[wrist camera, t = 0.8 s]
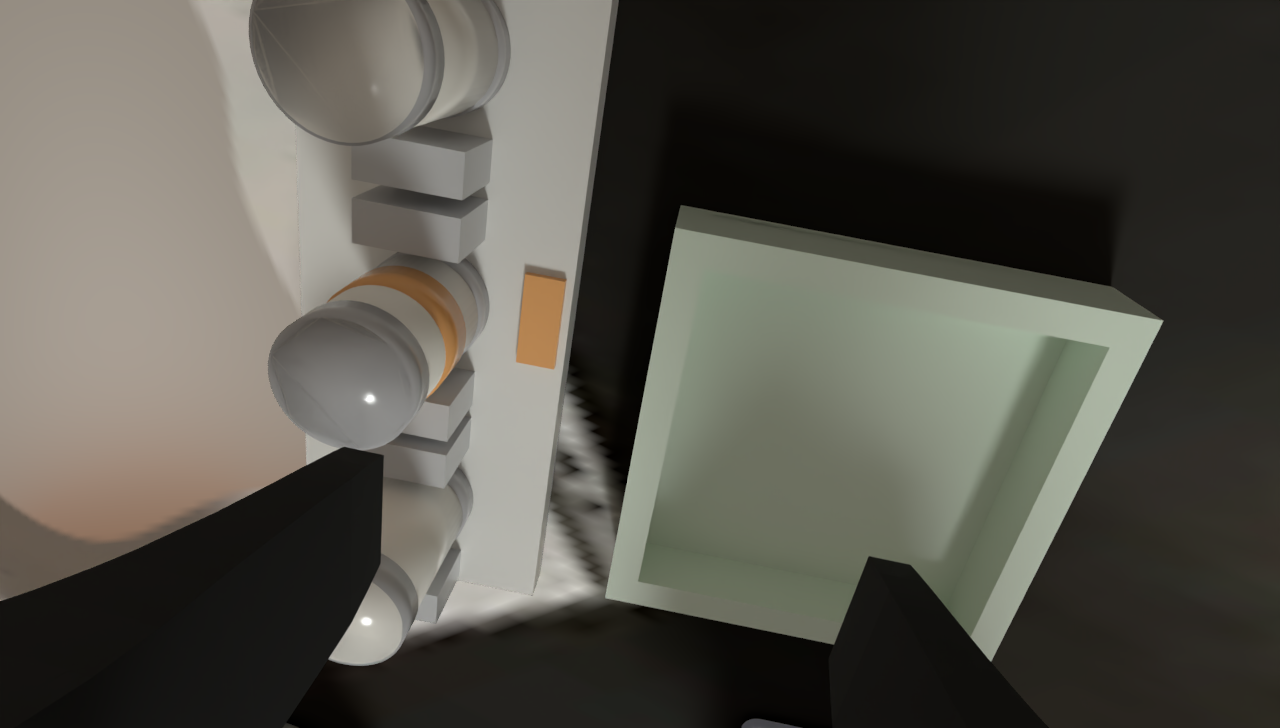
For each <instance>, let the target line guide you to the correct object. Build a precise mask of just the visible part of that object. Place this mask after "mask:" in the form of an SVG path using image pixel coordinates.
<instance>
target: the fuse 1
mask: <svg viewBox="0 0 1280 728" xmlns="http://www.w3.org/2000/svg"><path fill="white" fill-rule="evenodd" d="M249 40H250V48H251V53H252V57H253V61H254V64H255V67H256V70H257V73H258V75H259V77H260V79H261V81H262V84H263V86H264V87H265V89H266V91H267V92H268V94H269V96H270V97H271V99H272V100H273V101H274V103H275V104H276V105H277V107H278V108H279V109H280V110H281V111H282V112H283V113H284V114H285V115H286V116H287V117H288V118H289V119H290V120H291V121H292V122H293V123H295V124H296V125H297V126H299V127H300V128H301V129H303V130H304V131H306V132H307V133H309V134H311V135H313V136H315V137H317V138H319V139H322V140H324V141H327V142H330V143H334V144H338V145H345V146H363V145H369V144H373V143H376V142H379V141H382V140H385V139H388V138H392V137H395V136H398V135H401V134H403V133H405V132H407V131H409V130H410V129H412V128H413V127H417V126H420V125H423V124H426V123H429V122H433V121H436V120H439V119H444V118H452V117H457V116H460V115H463V114H466V113H469V112H472V111H475V110H477V109H479V108H481V107H483V106H484V105H486V104H487V103H488V102H489V101H490V100H491V99H493V98H494V97H495V95H496V94H497V93H498V91H499V90H500V88H501V87H502V85H503V83H504V81H505V79H506V76H507V73H508V69H509V65H510V58H511V44H510V36H509V32H508V28H507V25H506V22H505V19H504V17H503V15H502V13H501V11H500V9H499V7H498V6H497V4H496V3H495V1H494V0H253V2H252V6H251V9H250V17H249Z"/></svg>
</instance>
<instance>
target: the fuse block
mask: <svg viewBox="0 0 1280 728" xmlns="http://www.w3.org/2000/svg"><path fill="white" fill-rule="evenodd" d="M494 1H495V3H496V4H497V6H498V7H499V9H500V11H501V13H502V15H503V17H504V19H505V22H506V25H507V28H508V32H509V36H510V44H511V58H510V65H509V69H508V73H507V76H506V79H505V81H504V83H503V85H502V87H501V88H500V90H499V91H498V93H497V94H496V95H495V97H494V98H493V99H491V100H490V101H489V102H488V103H487V104H486V105H484V106H483V107H481V108H479V109H477V110H475V111H472V112H469V113H466V114H463V115H460V116H457V117H452V118H444V119H439V120H436V121H433V122H429V123H426V124H423V125H420V126H417V127H413V128H412V129H410V130H409V131H407V132H405V133H403V134H401V135H398V136H395V137H392V138H388V139H385V140H382V141H379V142H376V143H373V144H369V145H363V146H345V145H338V144H334V143H330V142H327V141H324V140H322V139H319V138H317V137H315V136H313V135H311V134H309V133H307V132H306V131H304V130H303V129H301V128H300V127H299V126H297V125H296V124H295V135H296V165H297V195H298V225H299V255H300V285H301V314H302V316H304V315H305V314H307V313H308V312H309V311H311V310H313V309H314V308H316V307H318V306H320V305H322V304H325V303H327V301H328V300H329V299H330V298H331V297H332V296H333V295H334V294H335V293H337V292H338V291H340V290H341V289H343V288H344V287H345V286H347V285H348V284H350V283H351V282H353V281H354V280H356V279H357V278H359V277H360V276H362V275H363V274H365V273H366V272H368V271H370V270H373V269H375V268H376V267H377V266H378V265H380V264H381V263H382V262H383V261H385V260H386V259H388V258H389V257H391V256H392V255H394V254H395V253H397V252H401V253H406V254H411V255H416V256H422V257H427V258H432V259H437V260H442V261H447V262H453V263H460V262H461V261H462V260H463V259H464V258H466V259H467V260H468V261H469V262H470V263H471V264H472V265H473V266H474V267H475V268H476V270H477V271H478V272H479V274H480V275H481V277H482V279H483V281H484V283H485V285H486V288H487V291H488V295H489V302H490V310H489V317H488V320H487V323H486V326H485V328H484V330H483V331H482V333H481V334H480V335H479V337H478V338H477V339H476V340H475V342H474V343H473V344H472V345H471V347H470V348H469V349H468V350H467V351H466V352H465V353H464V354H462V356H461V358H460V360H459V362H458V363H457V365H456V366H455V367H454V369H453V370H452V371H451V372H450V374H449V375H448V376H447V377H446V379H445V380H444V381H443V382H442V384H441V385H440V386H439V387H438V388H437V390H436V391H435V392H434V393H433V394H431V395H430V396H429V397H428V398H426V399H425V402H424V404H423V406H422V407H421V409H420V410H419V411H418V413H417V414H416V415H415V416H414V418H413V419H412V420H411V421H410V423H409V424H408V425H407V426H406V428H405V429H404V430H403V431H402V432H401V433H400V434H399V436H397V437H396V438H395V439H394V440H392V441H391V442H389V443H387V444H385V445H383V446H380V447H378V448H374V449H369V450H362V451H367V452H372V453H377V454H381V455H384V468H383V477H388V478H393V479H398V480H403V481H408V482H413V483H418V484H423V485H428V486H433V487H438V488H443V489H444V488H445V487H446V485H447V483H448V482H449V480H450V479H451V477H452V475H453V474H454V472H455V470H456V469H457V467H459V468H460V469H461V470H462V472H463V473H464V474H465V476H466V477H467V479H468V480H469V483H470V485H471V488H472V491H473V508H472V511H471V514H470V515H469V517H468V519H467V521H466V523H465V525H464V527H463V529H462V531H461V532H460V534H459V536H458V537H457V538H456V539H455V540H454V542H453V544H452V546H451V548H450V549H449V551H448V553H447V555H446V557H445V559H444V561H443V563H442V564H441V566H440V568H439V570H438V572H437V574H436V576H435V578H434V580H433V581H432V583H431V585H430V587H429V589H428V591H427V593H426V595H425V596H424V598H423V600H422V602H421V604H420V606H419V608H418V612H417V615H416V618H415V620H420V621H425V622H430V623H434V624H436V622H437V620H438V618H439V616H440V614H441V612H442V610H443V608H444V606H445V604H446V602H447V600H448V598H449V596H450V594H451V592H452V590H453V587H454V585H455V583H456V581H462V582H467V583H472V584H477V585H482V586H487V587H492V588H496V589H501V590H506V591H511V592H516V593H521V594H526V595H531V596H533V593H534V590H535V587H536V584H537V581H538V578H539V575H540V570H541V563H542V555H543V548H544V541H545V534H546V526H547V519H548V512H549V504H550V497H551V490H552V483H553V475H554V468H555V461H556V454H557V446H558V439H559V432H560V424H561V417H562V410H563V403H564V395H565V388H566V381H567V373H568V366H569V359H570V352H571V344H572V337H573V330H574V323H575V315H576V308H577V301H578V293H579V286H580V279H581V272H582V264H583V257H584V250H585V242H586V235H587V228H588V221H589V213H590V206H591V199H592V192H593V184H594V177H595V170H596V162H597V155H598V148H599V141H600V133H601V126H602V119H603V111H604V104H605V97H606V90H607V82H608V75H609V68H610V61H611V53H612V46H613V39H614V31H615V24H616V17H617V10H618V2H619V0H494ZM305 434H306V433H305ZM338 449H340V448H336V447H332V446H330V445H327V444H324V443H322V442H320V441H318V440H316V439H314V438H312V437H311V436H309V435H308V434H306V464H307V465H308V464H310V463H312V462H314V461H316V460H318V459H320V458H321V457H323V456H325V455H327V454H329V453H331V452H333V451H336V450H338Z"/></svg>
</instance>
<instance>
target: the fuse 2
mask: <svg viewBox="0 0 1280 728" xmlns="http://www.w3.org/2000/svg"><path fill="white" fill-rule="evenodd" d="M472 508H473V491H472V488H471V485H470V483H469V480H468V479H467V477H466V476H465V474H464V473H463V472H462V470H461V469H460V468H459V467H457V469H456V470H455V472H454V474H453V475H452V477H451V479H450V480H449V482H448V483H447V485H446V487H445V488H444V489H443V488H438V487H433V486H428V485H423V484H418V483H413V482H408V481H403V480H398V479H393V478H388V477H383V502H382V535H381V564H380V566H379V568H378V570H377V572H376V574H375V577H374V579H373V581H372V583H371V585H370V587H369V589H368V591H367V593H366V595H365V597H364V599H363V601H362V603H361V605H360V607H359V609H358V611H357V613H356V615H355V617H354V619H353V621H352V623H351V625H350V626H349V628H348V629H347V631H346V633H345V634H344V636H343V637H342V639H341V640H340V642H339V643H338V645H337V647H336V648H335V650H334V651H333V653H332V654H331V656H330V657H329V660H332V661H334V662H338V663H342V664H347V665H356V666H363V665H372V664H376V663H380V662H382V661H384V660H386V659H388V658H390V657H391V656H392V655H394V654H395V653H396V652H397V650H398V649H399V648H400V646H401V644H402V643H403V641H404V639H405V637H406V635H407V633H408V631H409V629H410V627H411V625H412V624H413V622H414V620H415V618H416V615H417V612H418V608H419V606H420V604H421V602H422V600H423V598H424V596H425V595H426V593H427V591H428V589H429V587H430V585H431V583H432V581H433V580H434V578H435V576H436V574H437V572H438V570H439V568H440V566H441V564H442V563H443V561H444V559H445V557H446V555H447V553H448V551H449V549H450V548H451V546H452V544H453V542H454V540H455V539H456V538H457V537H458V536H459V534H460V532H461V531H462V529H463V527H464V525H465V523H466V521H467V519H468V517H469V515H470V514H471V511H472Z"/></svg>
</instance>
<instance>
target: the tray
mask: <svg viewBox="0 0 1280 728" xmlns="http://www.w3.org/2000/svg"><path fill="white" fill-rule="evenodd" d="M1162 323H1163V320H1161V319H1160V318H1158V317H1157V316H1155V315H1154V314H1152V313H1151V312H1149V311H1148V310H1146V309H1145V308H1143V307H1142V306H1140V305H1139V304H1137V303H1136V302H1134V301H1133V300H1131V299H1130V298H1128V297H1127V296H1125V295H1124V294H1122V293H1121V292H1119V291H1118V290H1116V289H1115V288H1113V287H1111V286H1105V285H1100V284H1095V283H1089V282H1084V281H1079V280H1074V279H1068V278H1063V277H1058V276H1053V275H1047V274H1042V273H1037V272H1031V271H1026V270H1021V269H1016V268H1010V267H1005V266H1000V265H995V264H989V263H984V262H979V261H973V260H968V259H963V258H958V257H952V256H947V255H942V254H937V253H931V252H926V251H921V250H915V249H910V248H905V247H900V246H894V245H889V244H884V243H879V242H873V241H868V240H863V239H857V238H852V237H847V236H842V235H836V234H831V233H826V232H821V231H815V230H810V229H805V228H799V227H794V226H789V225H784V224H778V223H773V222H768V221H763V220H757V219H752V218H747V217H741V216H736V215H731V214H726V213H720V212H715V211H710V210H705V209H699V208H694V207H689V206H683V205H681V206H680V210H679V214H678V218H677V222H676V226H675V231H674V236H673V242H672V247H671V252H670V257H669V263H668V268H667V273H666V279H665V284H664V289H663V294H662V300H661V305H660V310H659V316H658V321H657V326H656V331H655V337H654V342H653V347H652V353H651V358H650V363H649V368H648V374H647V379H646V384H645V390H644V395H643V400H642V405H641V411H640V416H639V421H638V427H637V432H636V437H635V442H634V448H633V453H632V458H631V464H630V469H629V474H628V479H627V485H626V490H625V495H624V501H623V506H622V511H621V516H620V522H619V527H618V532H617V538H616V543H615V548H614V553H613V559H612V564H611V569H610V575H609V580H608V585H607V590H606V596H605V598H608V599H613V600H618V601H623V602H628V603H633V604H638V605H643V606H647V607H652V608H657V609H662V610H667V611H672V612H677V613H682V614H687V615H692V616H697V617H701V618H706V619H711V620H716V621H721V622H726V623H731V624H736V625H741V626H746V627H750V628H755V629H760V630H765V631H770V632H775V633H780V634H785V635H790V636H795V637H799V638H804V639H809V640H814V641H819V642H824V643H829V644H834V643H835V641H836V638H837V636H838V633H839V631H840V628H841V625H842V623H843V620H844V618H845V615H846V613H847V610H848V608H849V605H850V602H851V600H852V597H853V595H854V592H855V590H856V587H857V585H858V582H859V580H860V577H861V574H862V572H863V569H864V567H865V564H866V562H867V559H868V557H869V556H871V557H876V558H881V559H885V560H890V561H895V562H900V563H905V564H909V565H911V566H912V567H913V568H914V569H915V570H916V571H917V573H918V574H919V575H920V576H921V577H922V578H923V580H924V581H925V582H926V583H927V584H928V586H929V587H930V588H931V589H932V590H933V592H934V593H935V594H936V595H937V597H938V598H939V599H940V600H941V602H942V603H943V604H944V605H945V606H946V608H947V609H948V610H949V611H950V613H951V614H952V615H953V616H954V618H955V619H956V620H957V621H958V622H959V624H960V625H961V626H962V627H963V629H964V630H965V631H966V632H967V634H968V635H969V636H970V637H971V638H972V640H973V641H974V642H975V643H976V645H977V646H978V647H979V648H980V649H981V651H982V652H983V653H984V654H985V655H986V657H987V658H988V659H989V660H990V661H992V659H993V657H994V655H995V653H996V651H997V649H998V647H999V645H1000V643H1001V641H1002V639H1003V637H1004V635H1005V633H1006V631H1007V629H1008V627H1009V625H1010V623H1011V621H1012V619H1013V617H1014V615H1015V613H1016V611H1017V609H1018V607H1019V605H1020V603H1021V601H1022V599H1023V597H1024V595H1025V593H1026V591H1027V589H1028V587H1029V585H1030V583H1031V581H1032V580H1033V578H1034V576H1035V574H1036V572H1037V570H1038V568H1039V566H1040V564H1041V562H1042V560H1043V558H1044V556H1045V554H1046V552H1047V550H1048V548H1049V546H1050V544H1051V542H1052V540H1053V538H1054V536H1055V534H1056V532H1057V530H1058V528H1059V526H1060V524H1061V522H1062V520H1063V518H1064V516H1065V514H1066V512H1067V510H1068V508H1069V506H1070V504H1071V502H1072V500H1073V498H1074V496H1075V495H1076V493H1077V491H1078V489H1079V487H1080V485H1081V483H1082V481H1083V479H1084V477H1085V475H1086V473H1087V471H1088V469H1089V467H1090V465H1091V463H1092V461H1093V459H1094V457H1095V455H1096V453H1097V451H1098V449H1099V447H1100V445H1101V443H1102V441H1103V439H1104V437H1105V435H1106V433H1107V431H1108V429H1109V427H1110V425H1111V423H1112V421H1113V419H1114V417H1115V415H1116V413H1117V411H1118V410H1119V408H1120V406H1121V404H1122V402H1123V400H1124V398H1125V396H1126V394H1127V392H1128V390H1129V388H1130V386H1131V384H1132V382H1133V380H1134V378H1135V376H1136V374H1137V372H1138V370H1139V368H1140V366H1141V364H1142V362H1143V360H1144V358H1145V356H1146V354H1147V352H1148V350H1149V348H1150V346H1151V344H1152V342H1153V340H1154V338H1155V336H1156V334H1157V332H1158V330H1159V328H1160V326H1161V325H1162Z"/></svg>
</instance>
